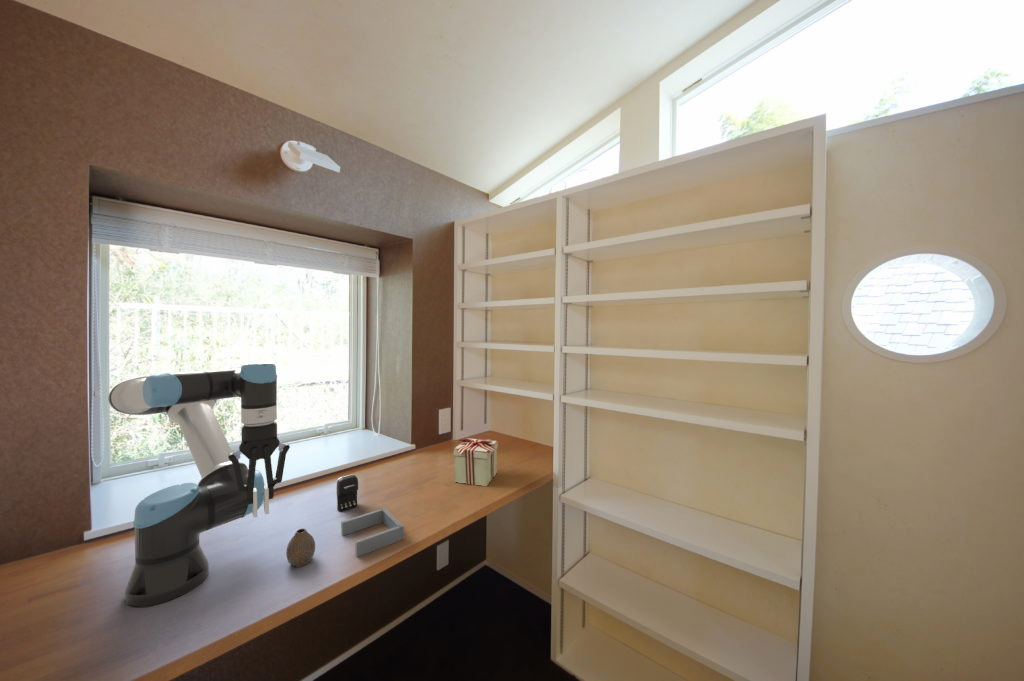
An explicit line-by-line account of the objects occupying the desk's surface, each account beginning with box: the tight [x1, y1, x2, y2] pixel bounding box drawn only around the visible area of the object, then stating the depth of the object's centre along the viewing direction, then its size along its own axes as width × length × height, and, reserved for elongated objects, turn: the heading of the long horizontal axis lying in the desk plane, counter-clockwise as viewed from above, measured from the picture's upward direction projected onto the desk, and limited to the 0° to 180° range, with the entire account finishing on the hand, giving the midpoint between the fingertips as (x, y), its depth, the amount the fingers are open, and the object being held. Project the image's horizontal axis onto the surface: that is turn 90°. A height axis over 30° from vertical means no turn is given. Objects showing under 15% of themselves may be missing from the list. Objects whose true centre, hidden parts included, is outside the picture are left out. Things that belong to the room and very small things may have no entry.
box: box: [340, 507, 405, 558], centre depth 112 cm, size 14×15×4 cm
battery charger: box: [335, 474, 359, 512], centre depth 130 cm, size 7×4×11 cm, turn 130°
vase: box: [285, 528, 316, 567], centre depth 100 cm, size 7×7×9 cm
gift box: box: [453, 437, 499, 487], centre depth 155 cm, size 17×18×17 cm
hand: (260, 513), depth 93 cm, fingers open, 2 cm apart
